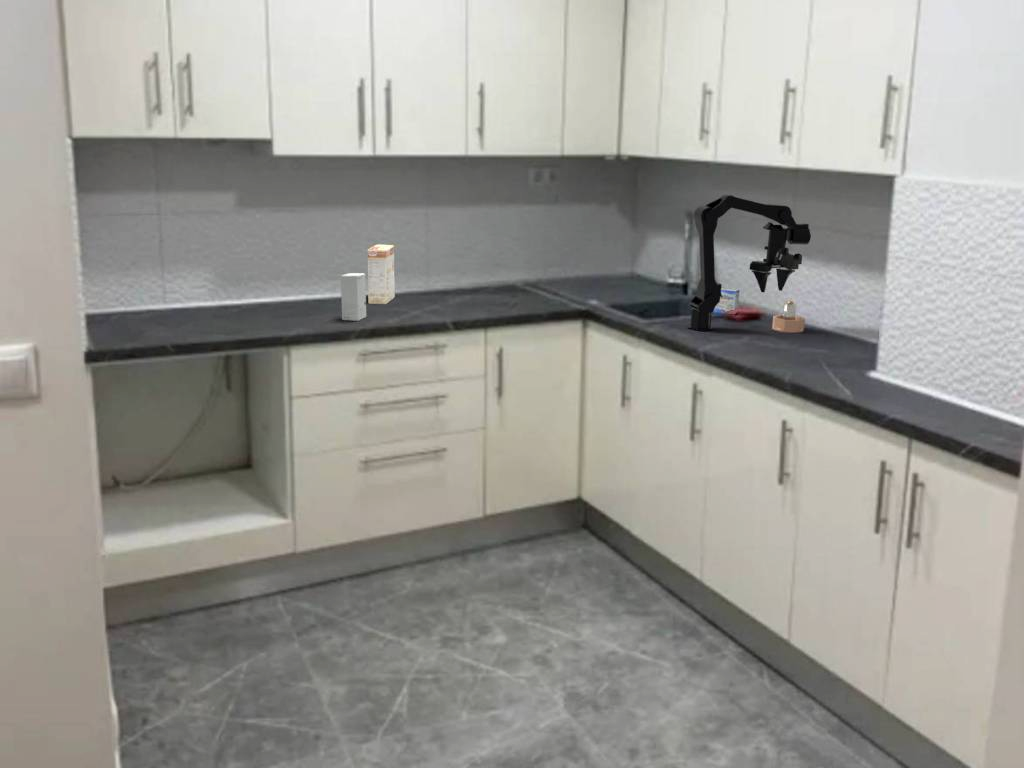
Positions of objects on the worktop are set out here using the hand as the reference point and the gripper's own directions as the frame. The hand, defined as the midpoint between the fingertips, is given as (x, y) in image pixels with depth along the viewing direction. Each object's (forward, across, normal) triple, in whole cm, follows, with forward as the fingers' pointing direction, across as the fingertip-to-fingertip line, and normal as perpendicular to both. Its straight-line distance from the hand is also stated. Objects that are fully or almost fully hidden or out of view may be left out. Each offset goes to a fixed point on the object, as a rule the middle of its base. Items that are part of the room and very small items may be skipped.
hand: (771, 291), depth 342 cm
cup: (+12, +4, -6) cm, 14 cm away
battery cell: (+11, +3, -6) cm, 13 cm away
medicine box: (+13, +9, +26) cm, 30 cm away
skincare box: (+16, -107, +86) cm, 138 cm away
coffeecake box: (+15, -81, +111) cm, 138 cm away
